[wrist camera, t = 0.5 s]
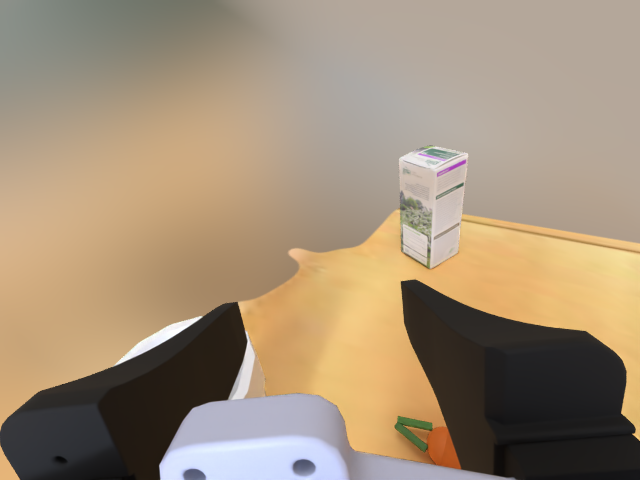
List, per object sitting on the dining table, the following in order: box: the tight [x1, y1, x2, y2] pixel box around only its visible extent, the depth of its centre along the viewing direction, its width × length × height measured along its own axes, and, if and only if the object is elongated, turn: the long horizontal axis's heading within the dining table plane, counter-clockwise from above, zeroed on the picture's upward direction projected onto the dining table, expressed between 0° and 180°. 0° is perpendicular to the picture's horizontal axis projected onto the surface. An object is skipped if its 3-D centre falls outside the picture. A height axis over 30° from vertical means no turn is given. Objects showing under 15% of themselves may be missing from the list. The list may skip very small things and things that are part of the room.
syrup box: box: [399, 146, 468, 269], centre depth 39 cm, size 6×6×14 cm
